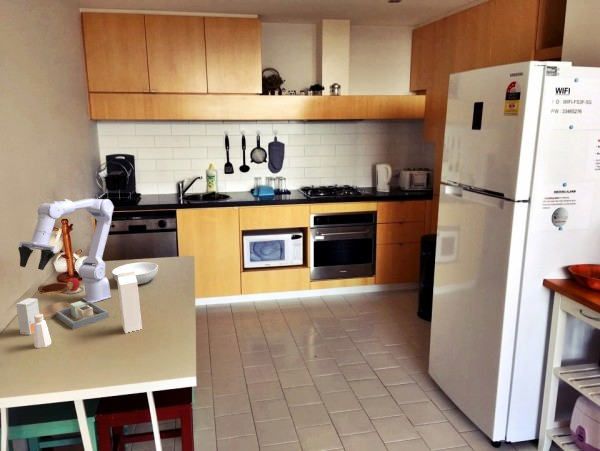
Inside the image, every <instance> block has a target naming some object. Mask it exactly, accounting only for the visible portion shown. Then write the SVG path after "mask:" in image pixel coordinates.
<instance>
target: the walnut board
mask: <svg viewBox="0 0 600 451" xmlns="http://www.w3.org/2000/svg"><path fill="white" fill-rule="evenodd" d="M70 304H71V303H68V302H67V301H65V300H64V301H63V300H62V301H60V302H56V303H53V304H52V303H51V304H49V305H45V306H42V307H39V314H43V318H44V320H45V321H47V320H50V319H51V320H52V319H54V318H57V315H56V311H59V310H63V309H66V308H70V307H71V306H70Z"/></svg>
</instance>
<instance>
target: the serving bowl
mask: <svg viewBox="0 0 600 451" xmlns="http://www.w3.org/2000/svg"><path fill="white" fill-rule="evenodd" d="M158 270H159V265H158V264H157V263H154V262H150V261H148V262H146V261H143V262H133V263H125V264H124V265H123V264H122V265H119V266H118V267H115V268H114V269H113V270H112V271H111V273H112V274H111V275H112V277H113V279H114V280H115V281H116V282H117V279H118V274H120V273H126V272H132V271H134V272H135V276H136V280H137V286H138V285H142V284H146V283H148V282H150V281H151V280H153V279H154V278H155V277H156V276H157V274H158Z"/></svg>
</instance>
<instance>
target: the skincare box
mask: <svg viewBox="0 0 600 451" xmlns="http://www.w3.org/2000/svg"><path fill="white" fill-rule="evenodd" d="M38 300H39V299H38V298H31V297H27V298H25V299H23V300H21V301H19V302H17V303H16V304H15V307H16V312H17V319H18V325H19V331H20V335H25V336H31V335H32V334H34V322H35V318H34V316H35V315H37V314H39V308H40V307H39V301H38Z"/></svg>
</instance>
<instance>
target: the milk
mask: <svg viewBox="0 0 600 451" xmlns="http://www.w3.org/2000/svg"><path fill="white" fill-rule="evenodd" d="M116 282H117V283H116V284H117V288H118V289H117V292H118V299H119V308H120V315H121V324H122V325H121V326H122V328H123V329H122V330H123V332H124V333H125V334H129V333H128V332H130V333H133V332H132V331H135V332H137V331H136V330H139V331H141V330H140V329H142V330H143V324H142V323H143V322H142V317H141V316H142V315H141V307H140V305H141V304H140V295H139V289H138V285H137V280H136V276H135V272H134V271H132V272H126V273H120V274H118V279H117V281H116Z"/></svg>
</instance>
